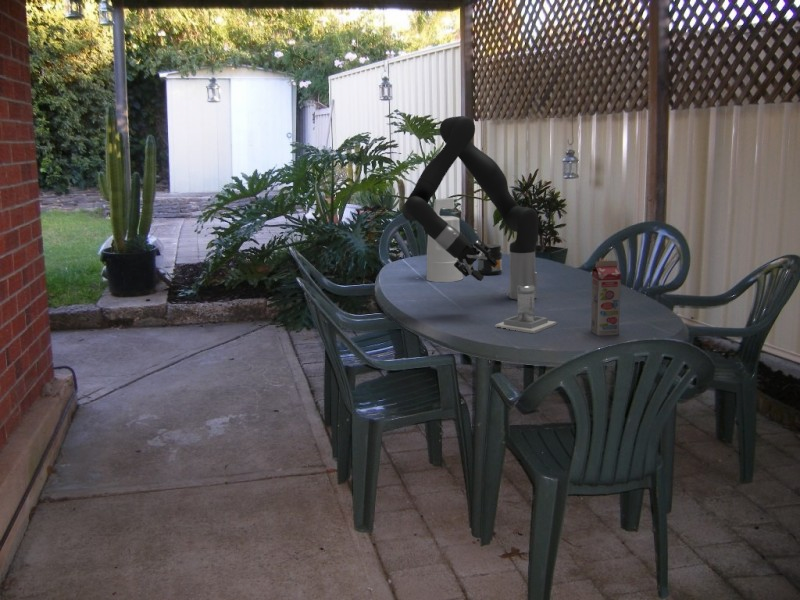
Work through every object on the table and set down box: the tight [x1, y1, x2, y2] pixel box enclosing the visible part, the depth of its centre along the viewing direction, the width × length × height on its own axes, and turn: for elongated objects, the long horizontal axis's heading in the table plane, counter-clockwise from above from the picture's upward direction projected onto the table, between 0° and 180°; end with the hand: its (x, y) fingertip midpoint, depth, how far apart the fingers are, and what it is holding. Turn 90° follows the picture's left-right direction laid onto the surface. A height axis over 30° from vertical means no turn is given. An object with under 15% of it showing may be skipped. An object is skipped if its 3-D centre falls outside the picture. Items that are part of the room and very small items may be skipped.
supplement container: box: [476, 243, 503, 276], centre depth 353 cm, size 10×10×12 cm
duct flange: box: [494, 314, 557, 334], centre depth 262 cm, size 14×14×2 cm
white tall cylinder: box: [426, 197, 464, 283], centre depth 342 cm, size 15×15×33 cm
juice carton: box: [590, 260, 622, 337], centre depth 250 cm, size 7×7×22 cm
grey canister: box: [516, 285, 535, 323], centre depth 261 cm, size 6×6×12 cm
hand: (489, 272), depth 275 cm, fingers open, 8 cm apart
